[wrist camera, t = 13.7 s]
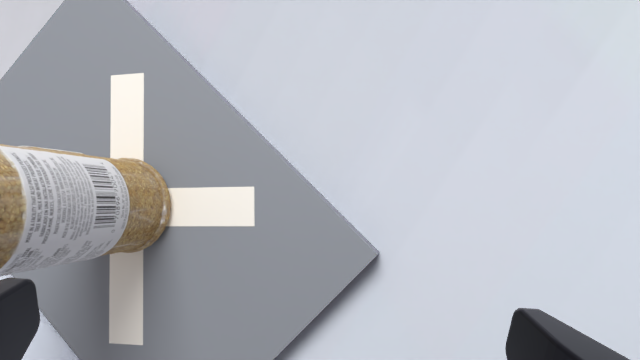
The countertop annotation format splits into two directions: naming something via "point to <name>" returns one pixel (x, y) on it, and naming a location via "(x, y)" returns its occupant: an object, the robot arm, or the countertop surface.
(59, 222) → the sprinkles bottle
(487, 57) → the countertop surface
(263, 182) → the board
